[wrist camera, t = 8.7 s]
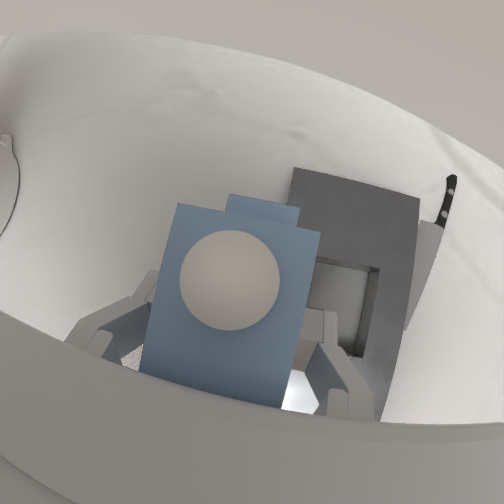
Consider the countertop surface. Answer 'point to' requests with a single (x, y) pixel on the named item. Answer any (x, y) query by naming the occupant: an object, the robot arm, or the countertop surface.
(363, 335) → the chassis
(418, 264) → the chef's knife
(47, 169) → the countertop surface
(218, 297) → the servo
